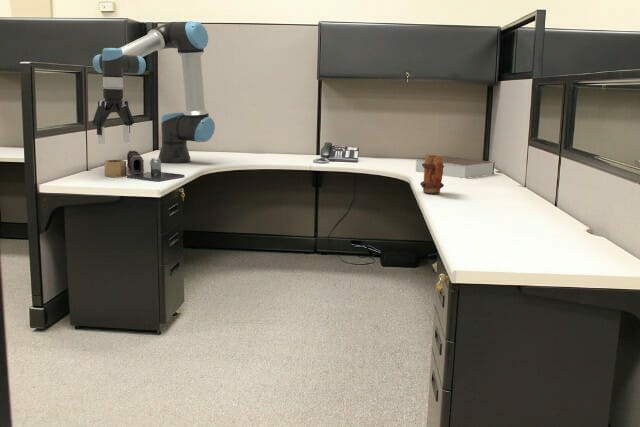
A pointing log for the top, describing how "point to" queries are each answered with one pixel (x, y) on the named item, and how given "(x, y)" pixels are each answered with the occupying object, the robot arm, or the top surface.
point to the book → (461, 167)
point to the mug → (432, 174)
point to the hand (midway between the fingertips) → (114, 142)
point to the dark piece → (155, 173)
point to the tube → (135, 162)
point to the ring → (115, 168)
